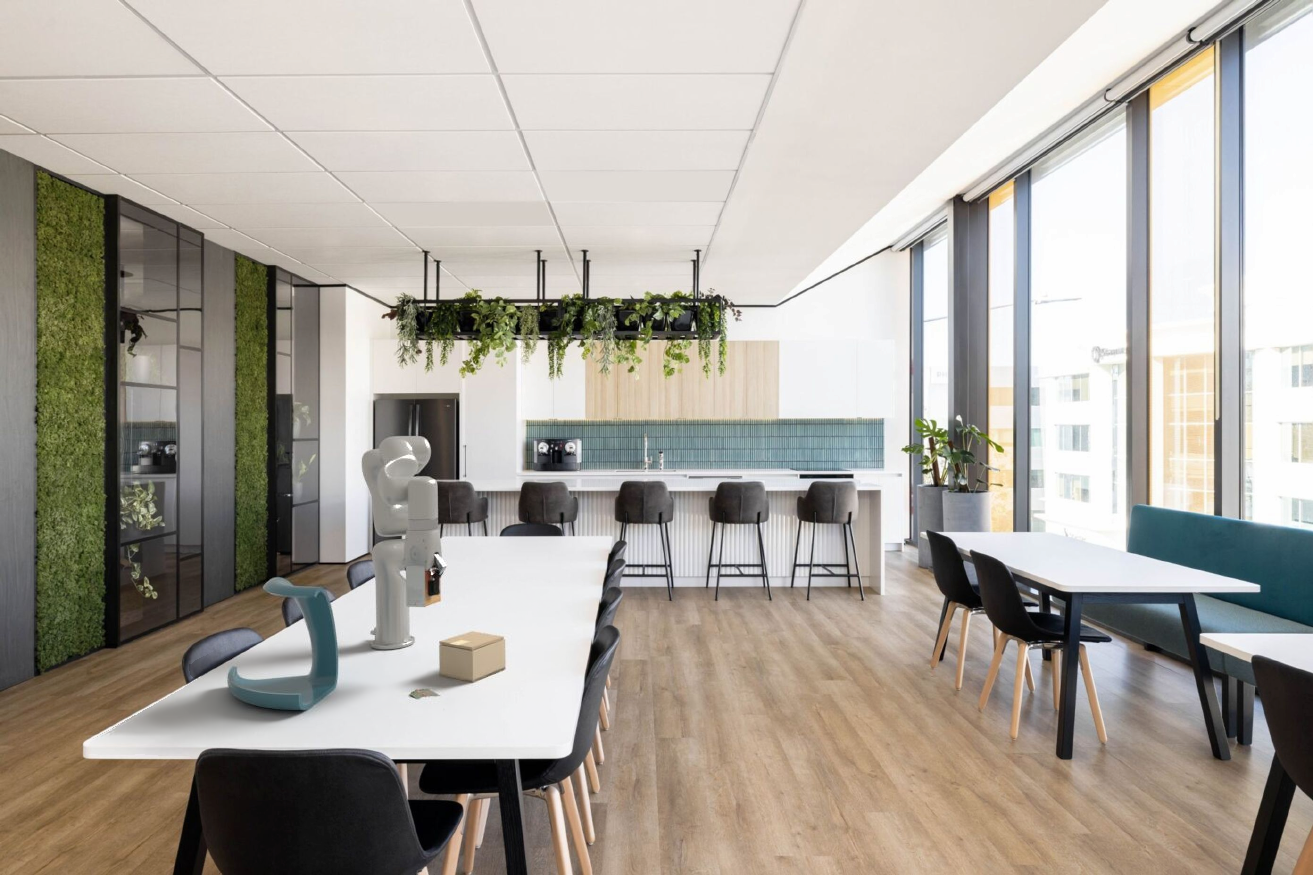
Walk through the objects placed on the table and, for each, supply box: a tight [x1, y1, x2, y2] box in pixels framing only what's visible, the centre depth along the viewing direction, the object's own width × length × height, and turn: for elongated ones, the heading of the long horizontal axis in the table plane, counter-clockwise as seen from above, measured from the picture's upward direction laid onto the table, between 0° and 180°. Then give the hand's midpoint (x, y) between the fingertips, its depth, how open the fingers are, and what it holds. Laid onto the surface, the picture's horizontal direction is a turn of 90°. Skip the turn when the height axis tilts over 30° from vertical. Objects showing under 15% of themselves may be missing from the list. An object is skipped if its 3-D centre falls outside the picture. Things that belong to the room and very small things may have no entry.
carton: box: [438, 638, 506, 683], centre depth 191 cm, size 12×12×8 cm
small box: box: [405, 565, 442, 608], centre depth 188 cm, size 8×6×10 cm
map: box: [410, 688, 441, 700], centre depth 170 cm, size 5×20×1 cm, turn 47°
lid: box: [439, 631, 505, 650], centre depth 191 cm, size 12×12×1 cm
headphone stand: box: [226, 576, 339, 711], centre depth 176 cm, size 26×28×28 cm
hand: (424, 592), depth 188 cm, fingers closed on small box, 7 cm apart
